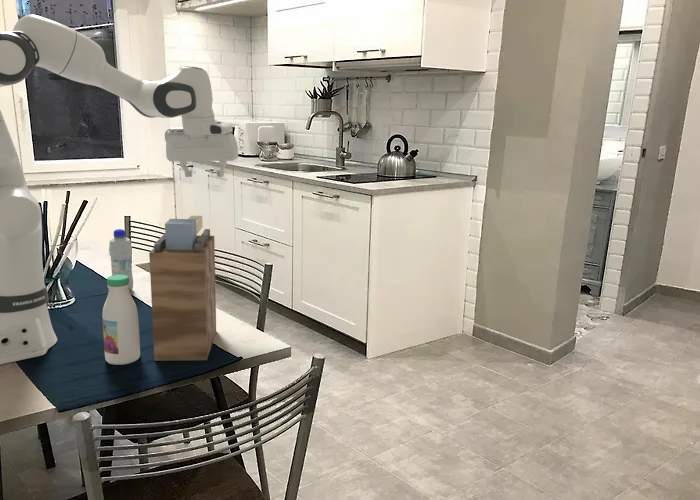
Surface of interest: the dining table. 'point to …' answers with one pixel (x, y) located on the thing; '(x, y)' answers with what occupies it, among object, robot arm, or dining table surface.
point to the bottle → (121, 256)
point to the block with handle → (182, 233)
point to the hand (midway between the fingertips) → (204, 176)
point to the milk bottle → (120, 323)
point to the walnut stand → (183, 299)
